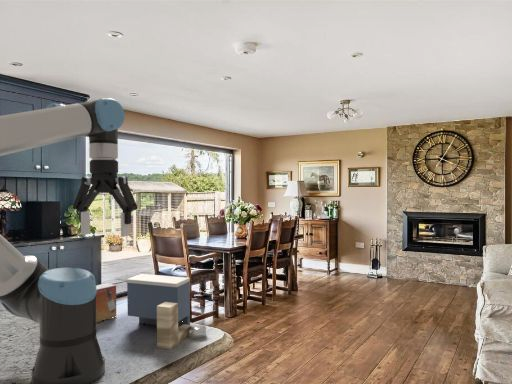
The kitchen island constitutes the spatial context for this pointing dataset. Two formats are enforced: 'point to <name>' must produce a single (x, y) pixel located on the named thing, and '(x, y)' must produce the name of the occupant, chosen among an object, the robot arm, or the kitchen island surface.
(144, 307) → the navy cabinet
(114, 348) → the kitchen island surface
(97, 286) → the small box
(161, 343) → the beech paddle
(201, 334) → the steel token
